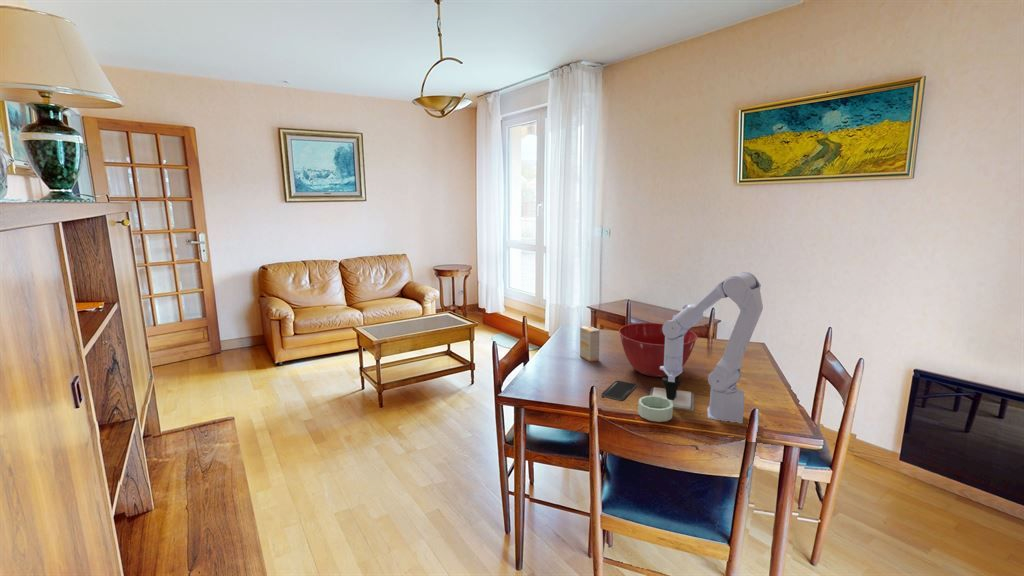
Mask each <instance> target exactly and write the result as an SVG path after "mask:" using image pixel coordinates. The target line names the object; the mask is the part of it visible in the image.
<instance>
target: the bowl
mask: <svg viewBox="0 0 1024 576" xmlns="http://www.w3.org/2000/svg"><path fill="white" fill-rule="evenodd" d="M637 402H638V403H637V414H638V415H639V416H640V417H641V418H643V419H645V420H647V421H651V422H657V423H659V422H668V421H670V420H671V419H673V413H674V412H673V411H674V408H673V403H672V402H671V401H670V400H669V399H666V398H664V397H660V396H649V395H645V396H642V397H640V398H639V399H638V401H637Z"/></svg>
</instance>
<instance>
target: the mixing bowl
mask: <svg viewBox="0 0 1024 576" xmlns="http://www.w3.org/2000/svg"><path fill="white" fill-rule="evenodd" d="M663 325H664V323H656V322H637V323H630V324H627V325H623V326H622V327H620V328H619V329H618V333H619V336H620V339H621V344H622V345H621V346H622V348H623V351H624V353H625V356H626V358H627V360H628V362H629V364H630V365H631V367H632V368H633V369H634V370H635V371H637V372H638V373H640V374H642V375H644V376H645V375H646V376H648V377H657V378H663V377H664V378H666V377H667V376H666V373H665V372H664V371H663V370H660V366H664V349H665V335H664V334H663V331H662V327H663ZM697 340H698V335H697V334H696V332H694V331H692V330H690V329H688V331H687V333H686V334H685V335H684V344H683V362H682V368H683V367H684V366H685V364H686V363H687V361H688V359H689V358H690V356H691V355H692V354H691V353H692V352H693V349H694V347H695V343H696V341H697Z"/></svg>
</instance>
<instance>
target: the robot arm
mask: <svg viewBox="0 0 1024 576" xmlns="http://www.w3.org/2000/svg"><path fill="white" fill-rule="evenodd" d="M761 286H762V285H761V283H760V281H759V279H758V278H757V277H756V276H755V275H754V274H753V273H751V272H747V271H745V272H743V271H742V272H741V273H739V274H735V275H730V276H728V277H726V278H725V279H724V280H723V281H720V282H719V283H718V284H717V285H715V286H714V287H713V288H712V289H711V290H710V291H708V293H706V294H705V295H704V296H703V297H702V298H700V300H699V301H698V302H696V303H694V304H693V303H689V304H685V305H683V306H682V310H680V312H678V313H677V314H674V315H672V319H671V320H669V319H668V320H666V321H665V322H664V323H663V324H664V325H663V327H662V331H663V334H664V335H665V349H664V366H660V370H663V371H664V372H665V373H666V376H665V377H661V378H662V379H661V380H662V384H663V386H664V389H666V396H667V399H669V400H674V399H675V395H676V391H677V390H678V388H679V386H680V385H681V383H682V380H680V379H679V378H680V376H681V375H682V373H683V369H684V368H683V367H682V362H683V344H684V335H685V334H686V333H687V331H688V330H690V329H691V328H693V326H695V325H696V324H697V323H699V322H700V321H701V320H702V319H703V318H704V312H706V311H707V310H708V309H709V308H711V307H712V306H714V305H715V304H716V303H717V302H719V301H720V300H721V299H727V298H729V299H730V300H732V302H734V303H735V304H736V305H737V307H738V308H739V310H740V311H739V314H738V317H737V319H736V320H735V321H736V322H735V324H734V326H733V330H732V332H731V334H730V337H729V338H728V341H727V344H726V347H725V349H724V351H723V354H722V357H721V359H720V360H719V361H718V362H717V364H716V365H715V368H714V369H713V370H712V371H711V372H709V373H708V376H707V382H708V384H709V386H710V393H709V406H707V411H706V412H707V419H708V420H713V419H714V421H720V420H721V422H727V421H730V422H729V423H734V422H737V421H738V423H737V424H741V423H742V424H744V422H743V421H744V413H745V390H743V389H738V386H737V383H738V382H740V380H741V378H742V370H741V369H742V367H743V364H742V360H743V358H744V355H745V353H746V350H747V348H748V345H749V343H750V341H751V338H752V335H753V333H754V331H755V329H756V327H757V324H758V321H760V317H761V315H762V312H763V307H764V306H763V305H764V304H763V300H762V294H761Z"/></svg>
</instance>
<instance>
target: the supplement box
mask: <svg viewBox="0 0 1024 576" xmlns="http://www.w3.org/2000/svg"><path fill="white" fill-rule="evenodd" d="M579 328H580V329H579V356H580V357H581V358H582V359H584V360H585V361H588V362H590V363H592V362H597V361H599V360H600V330H601V329H598V328H595V327H593V326H591V325H582V326H580V327H579Z"/></svg>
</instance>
